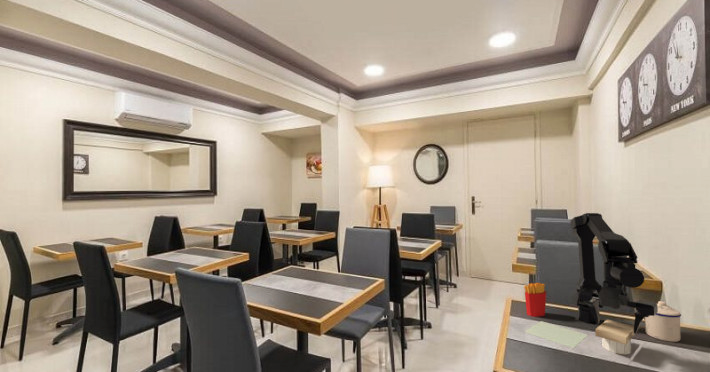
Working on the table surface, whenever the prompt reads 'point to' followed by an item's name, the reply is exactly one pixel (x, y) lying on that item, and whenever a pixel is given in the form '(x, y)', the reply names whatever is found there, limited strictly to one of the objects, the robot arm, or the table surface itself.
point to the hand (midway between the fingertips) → (615, 328)
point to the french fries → (535, 299)
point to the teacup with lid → (664, 323)
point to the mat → (556, 334)
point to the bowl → (616, 346)
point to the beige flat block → (615, 331)
